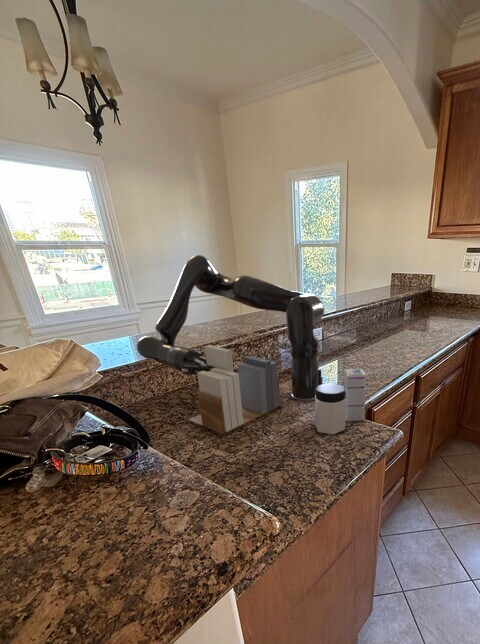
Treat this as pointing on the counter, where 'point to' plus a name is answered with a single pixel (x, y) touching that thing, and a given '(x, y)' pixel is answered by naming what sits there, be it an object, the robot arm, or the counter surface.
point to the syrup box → (355, 394)
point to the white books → (224, 394)
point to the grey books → (258, 384)
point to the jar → (330, 408)
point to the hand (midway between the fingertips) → (221, 370)
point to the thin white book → (219, 357)
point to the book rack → (219, 412)
